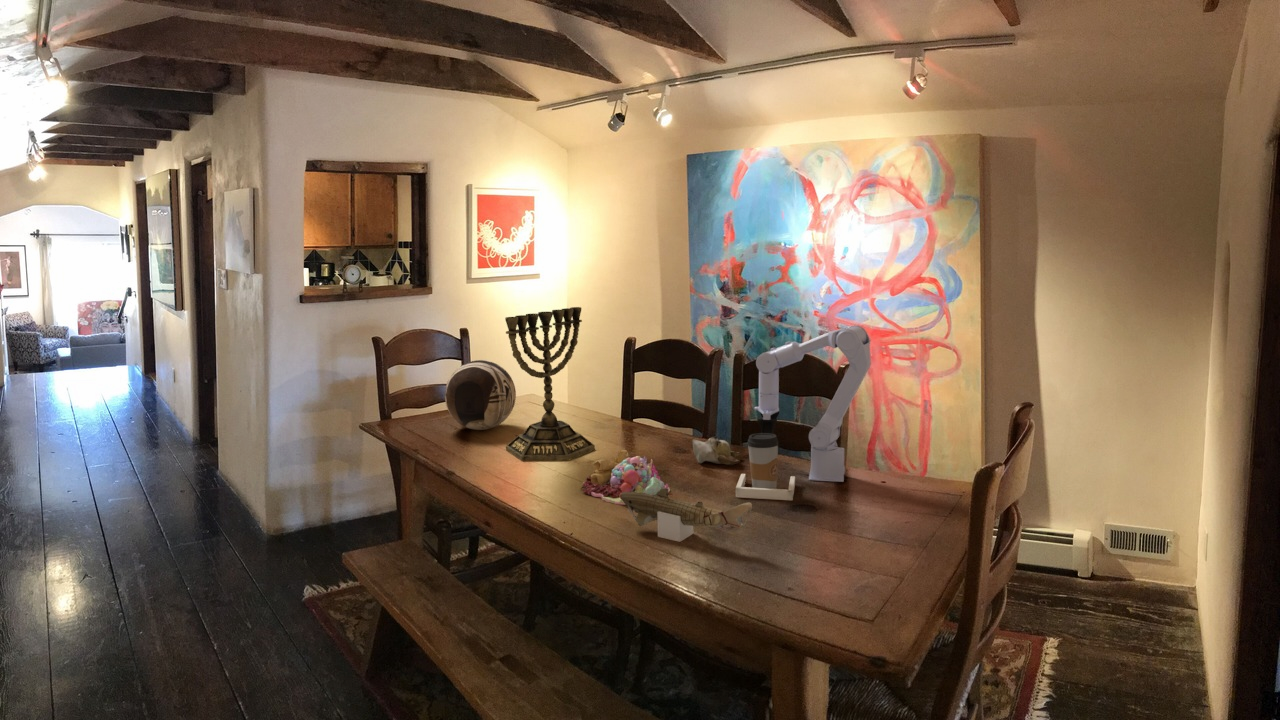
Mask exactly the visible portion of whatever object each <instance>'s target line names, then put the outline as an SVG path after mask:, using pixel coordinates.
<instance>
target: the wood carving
mask: <svg viewBox="0 0 1280 720" xmlns="http://www.w3.org/2000/svg"><path fill="white" fill-rule="evenodd" d="M620 497H621V499H622V500H623V502H624V503H625V504H626V505H625V506H626V507H627V509H628V511H629V512H630V514H631V515H632V517H633V518H634V519H635V520H634V521H636V523H637V525H639V526H640V527H641V526H645V525H647V524H648V523H650V522H654V521H657V538H663V539H666V540H670V541H675V542H678V543H680V542H682V541H684V540H686V539H687V538H689V537H691V536H692V535H693V534H694V527H703V528H704V527H708V528H710V527H711V528H721V529H726V530H730V531H732V530H733V531H743V530H744V529H745V525H746V523H747V520H748V519H749V516H750V514H751V512H752V508H753V504H752V502H744V503H741V504H738V505H736V506H733V507H730V508H728V509H726V510H720V509H715V508H710V507H706V506H704V504H703V502H702V501H698V502H697V503H694V502H687V501H683V500H679V499H673V498H670V497H669V493H668V489H667V488H663V489H660V490H659V491H658V492H657V493H656V494H655V495H654V494H652V495H651V494H646V493H642V492H639V493H638V492H622V493H621V494H620ZM634 513H636V514H637V516H636V515H635V514H634ZM745 513H746V516H747V517H746V518H745V520H744V523H743V517H744V514H745ZM726 526H728V527H726Z"/></svg>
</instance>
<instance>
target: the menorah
mask: <svg viewBox="0 0 1280 720" xmlns="http://www.w3.org/2000/svg"><path fill="white" fill-rule="evenodd" d="M581 313H582V307H581V306H572V307H568V308H567V307H566V308H561V309H552V310H551V311H538V313H526V314H525V315H524V314H521V315H515V316H508V317H507V316H506V317H505V322H506V323H505V324H506V327H507V329H508V330H507V331H505V334H506V335H508V339H509V344H510V347H511V351H512V356H513V358H514V359H516V362H517V365H519V367H520V369H521V370H523V371H524V372H525V373H527V374H528V375H529V376H531V377H535V378H539V379H543V383H544V386H543V391H544V395H543V397H544V399H545V400H544V401H543V403H542V406H543V409H544V411H545V413H543V415H542V416H541V421H540V420H539V421H537V422H535V423H532V424H529V426H528V427H527V428H526V429H525V431H524V432H523V433H520V434H518V435H517V436H516V437H514V439H512V440H511V441H510V442H509V443H507V445H505V451H506V452H508V453H509V454H511V455H512V456H514V457H515V458H517V459H518V460H520V461H521V462H539V461H540V462H549V461H550V462H552V461H553V462H555V461H557V462H558V461H560V462H561V461H564V462H565V461H566V462H567V461H571V460H573V459H575V458H578V457H580V456H583V455H585V454H587V453H590V452H592V451H596V450H595V448H596V447H595V444H593V443H592V442H591V441H590V440H589V439H588V438H586V437H584V436H583V435H582V434H581V433H579V432H577V431H575V430H574V429H573V428H572V426H571V424H568V423H567V422H565V421H563V420H558V418H557V416H556V414H555V413H554V412H553V410H554V408H555V402H554V401H553V400H552V398H553V395H554V394H553V392H552V391H553V386H552V383H553V379H552V377H551V376H554V375H556V374H558V373H559V372H561V371H562V370H563V369H564V368H565V367H566V365H567V364H568V363H569V361H571V359H572V358H573V353H574V350H575V349H576V347H577V346H578V338H579V331H580V329H579V328H580V325H581V324H580V323H582V322H583V320H582V319H580V317H581ZM552 318H553V319H554V322H552V324H551V321H552ZM538 320H540V322H541V324H542V325H539V327H538V326H537V324H538ZM563 320H564V321H563ZM527 324H528V325H527ZM527 326H528V327H527ZM553 326H554V329H555V333H554V335H553V337H552V341H551V342H550V336H549V332H550V330H551V328H553ZM517 327H518V329H517ZM563 327H564V334H563V335H564V336H563V339H561V335H562V332H561V331H562V330H563ZM572 327H573V330H572V338H571V339H570V341H569V338H570V333H571V329H572ZM539 329H542V330H541V331H542V333H543V341H542V343H543V344H541V341H540V340H539V339H538V337H537V334H538V333H537V331H538V330H539ZM527 332H528V333H529V335H530V340H531V344H532V345H533V347H535V348H536V349H538V351H540V352H543V353H542V357H543V358H539V357H538V356H537V355H535V353H534V352H532V348H531V347H530V346H529V344H528V341H527ZM517 335H518V337H519V338H520V342H521V345H522V349H523V353H524V354H525V355H527V357H528V358H529V360H531V361H532V362H533V363H536V364H537V363H538V364H541V365H543V366H542V369H543V371H537V370H536V369H533V368H531V367H530V366H529V365H528V363H527V361H525V360H524V359H523V357H522V352H521V351H520V350H519V347H518V344H517V340H516V339H517ZM559 342H560V346H559V347H558V350H557V351H555V353H554V354H553V355H552V353H551V351H550V350H552V349H554V348H555V347H556V346H557V344H558V343H559ZM569 342H570V343H569ZM568 345H569V347H568V349H567V351H566V352H565V349H566V348H567V346H568ZM563 352H565V354H564V358H563V359H562V360H561V362H559V363H558V364H557V366H556V367H554V368H553V367H552V364H551V363H553V362H554V361H556V360H557V359H559V358H560V357H561V356H562V353H563Z"/></svg>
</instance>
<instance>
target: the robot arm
mask: <svg viewBox="0 0 1280 720" xmlns="http://www.w3.org/2000/svg"><path fill="white" fill-rule="evenodd" d="M870 344H871V338H870V336H869V334H868V332H867V330H866V329H865V328H864V327H863V326H860V325H856V324H854V325H851V326H849V327H845V328H840V329H839V328H838V329H835V330H834V329H833V330H830V331H828V332H825V333H824V334H822V335H818V336H817V337H816V336H815V337H814V338H811V339H810V340H806V341H805V342H802V343H800V342H797V341H795V340H794V341H791V340H789V341H786V342H785V343H784V345H782V346H781V345H780V346H778V347H772V348H770V350H767V351H766V352H762V353H761V354H759V355H758V356H757V357H756V360H755V366H756V368H757V370H758V406H754V411H758V412H759V414H760V416H759V417H758V416H757V419H756V420H757V424H759V427H760V431H761V433H771V434H775V433H774V432H775V426H776V424H777V421H778V416H779V415H780V407H779V403H780V402H779V400H780V399H779V395H780V394H779V393H780V392H779V389H780V385H779V384H780V383H779V382H780V376H779V374H780V369H781V368H785V367H787V366H790V365H792V364H795V363H798V362H801V361H802V360H803V358H804V356H805V355H806V354H808V353H811V352H814V351H817V350H819V349H822V348H826V347H830V348H833V349H837V348H838V349H839V350H840V352H841V353H842V354H843V355H844V356H845V357H846V359H847V362H848V364H849V366H848V368H847V370H846V372H845V374H844V376H843V378H842V380H841V382H840V384H839V385H838V387H837V390H836V391H835V394H834V395H833V398H832V399H831V401H830V403H829V405H828V407H827V409H826V411H825V413H824V414H823V415H822V417H821V418H820V420H819V421H818V423H817V425H816V426H814V427H813V428H812V429H810V430H809V433H808V441H809V443H810V445H811V446H810V471H809V475H808V480H809V481H818V482H820V481H821V482H833V483H834V482H835V483H838V482H839V483H843V482H845V481H844V480H845V474H846V467H845V448H844V447H839V446H838V443H837V440H838V438H839V437H840V435H841V426H842V424H843V418H844V417H845V415H846V413H847V411H848V410H849V407H850V406H851V403H852V401H853V399H854V398H855V396H856V394H857V391H858V390H859V388H860V386H861V384H862V383H863V381H864V379H865V377H866V375H867V373H868V371H869V369H870V367H871V364H872V360H871V359H872V358H871V349H870V348H871V347H870V346H871V345H870Z"/></svg>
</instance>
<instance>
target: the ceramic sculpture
mask: <svg viewBox="0 0 1280 720" xmlns="http://www.w3.org/2000/svg"><path fill="white" fill-rule="evenodd" d="M692 450H693V454H694V456H695V458H696V461H697V462H698V463H699V464H702V463H704V462H709V463H713V464H717V465H726V466H730V465H735V464H740V463H741V460H739V459H737V458H736V457H738V456H740V455H742V453H743V452H742V451H732V446H731V445H730V443H729V442H728V441H727V440H725V439H719V438H718V436H717V435H714V436H712V437H709V438H708V439H707V440H706V441H701V440H699V439H698V440H697V439H694V438H693V439H692Z"/></svg>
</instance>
